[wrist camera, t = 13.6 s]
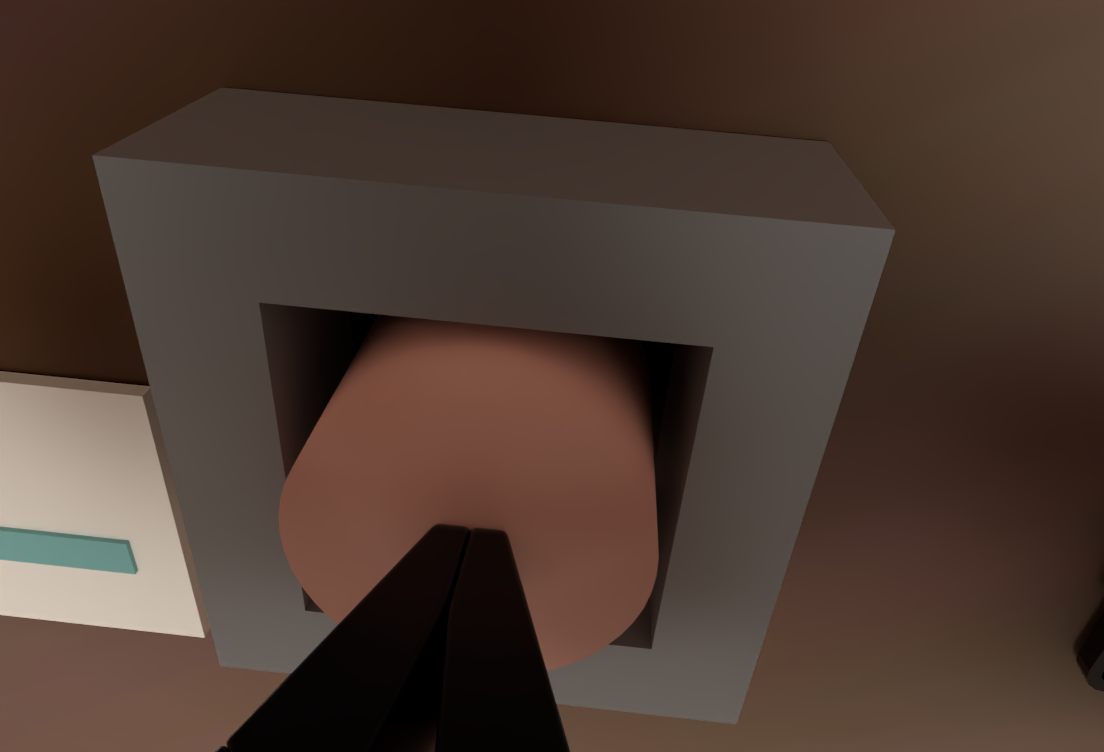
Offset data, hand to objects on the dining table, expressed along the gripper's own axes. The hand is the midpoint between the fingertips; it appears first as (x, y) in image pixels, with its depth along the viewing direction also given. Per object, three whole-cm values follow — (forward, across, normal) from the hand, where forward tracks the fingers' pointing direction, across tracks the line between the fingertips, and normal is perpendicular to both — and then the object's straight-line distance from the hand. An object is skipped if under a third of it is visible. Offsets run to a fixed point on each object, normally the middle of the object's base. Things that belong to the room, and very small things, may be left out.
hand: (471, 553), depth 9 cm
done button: (+3, 0, 0) cm, 3 cm away
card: (+4, +10, +4) cm, 12 cm away
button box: (+4, 0, 0) cm, 4 cm away
